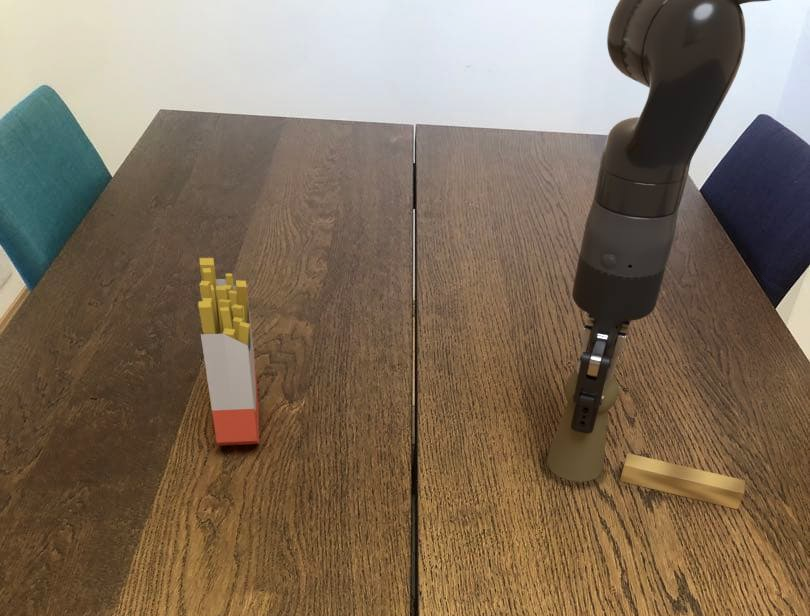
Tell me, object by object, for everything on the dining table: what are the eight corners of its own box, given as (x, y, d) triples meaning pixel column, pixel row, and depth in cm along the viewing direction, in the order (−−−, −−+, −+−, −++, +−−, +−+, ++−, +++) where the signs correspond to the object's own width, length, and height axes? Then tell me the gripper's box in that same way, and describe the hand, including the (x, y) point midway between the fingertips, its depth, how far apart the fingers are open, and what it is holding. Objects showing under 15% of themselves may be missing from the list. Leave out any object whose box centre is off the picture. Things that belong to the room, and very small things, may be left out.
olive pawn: (582, 489, 84) (604, 400, 77) (535, 463, 87) (551, 375, 79) (614, 463, 88) (638, 375, 80) (567, 439, 90) (586, 352, 83)
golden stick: (738, 496, 84) (745, 480, 83) (737, 509, 83) (744, 493, 81) (622, 469, 87) (627, 452, 85) (619, 481, 85) (624, 464, 84)
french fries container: (262, 400, 93) (247, 248, 81) (263, 459, 86) (247, 301, 73) (221, 402, 93) (200, 249, 80) (218, 461, 85) (195, 302, 73)
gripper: (657, 297, 65) (612, 464, 77) (676, 229, 75) (633, 386, 87) (565, 280, 67) (535, 446, 79) (595, 215, 77) (564, 371, 89)
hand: (586, 413), depth 83 cm, fingers closed on olive pawn, 5 cm apart
